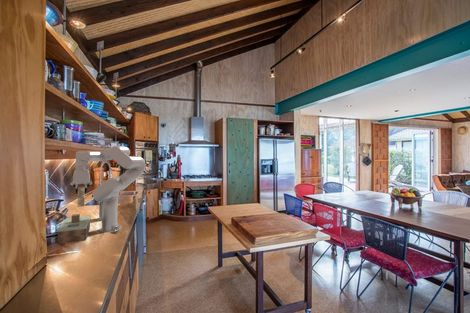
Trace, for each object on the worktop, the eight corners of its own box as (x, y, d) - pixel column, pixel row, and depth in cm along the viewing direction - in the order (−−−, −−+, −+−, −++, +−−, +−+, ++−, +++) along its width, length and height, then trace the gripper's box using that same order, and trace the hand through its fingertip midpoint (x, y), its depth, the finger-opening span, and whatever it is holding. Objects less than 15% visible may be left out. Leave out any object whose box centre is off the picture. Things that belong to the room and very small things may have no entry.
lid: (90, 218, 165) (90, 209, 165) (86, 228, 142) (86, 218, 142) (66, 220, 158) (66, 211, 158) (57, 231, 135) (58, 221, 135)
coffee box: (100, 217, 195) (101, 198, 195) (109, 217, 197) (109, 198, 197) (98, 220, 187) (99, 200, 187) (107, 219, 189) (108, 200, 189)
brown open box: (89, 229, 165) (90, 218, 165) (86, 241, 142) (86, 228, 142) (65, 232, 158) (66, 220, 158) (57, 245, 135) (57, 231, 135)
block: (84, 205, 170) (85, 186, 170) (84, 206, 166) (84, 187, 166) (78, 205, 168) (78, 187, 168) (77, 206, 164) (77, 187, 164)
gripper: (95, 167, 174) (95, 192, 174) (68, 168, 166) (68, 193, 166) (94, 168, 168) (94, 193, 168) (66, 168, 160) (66, 195, 160)
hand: (81, 193), depth 167 cm, fingers closed on block, 4 cm apart
